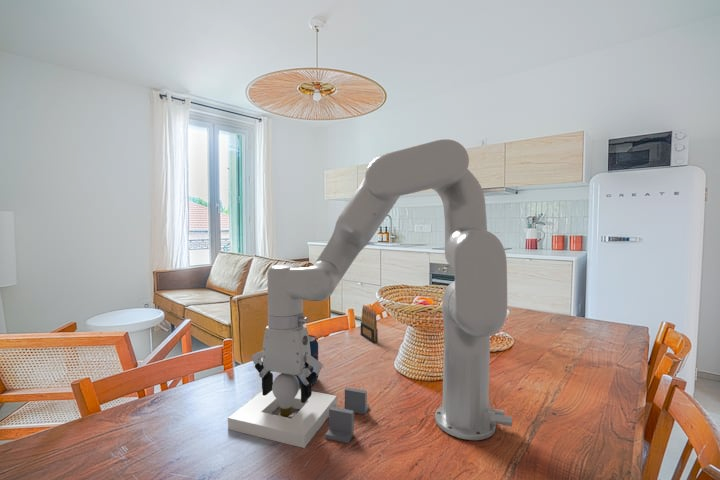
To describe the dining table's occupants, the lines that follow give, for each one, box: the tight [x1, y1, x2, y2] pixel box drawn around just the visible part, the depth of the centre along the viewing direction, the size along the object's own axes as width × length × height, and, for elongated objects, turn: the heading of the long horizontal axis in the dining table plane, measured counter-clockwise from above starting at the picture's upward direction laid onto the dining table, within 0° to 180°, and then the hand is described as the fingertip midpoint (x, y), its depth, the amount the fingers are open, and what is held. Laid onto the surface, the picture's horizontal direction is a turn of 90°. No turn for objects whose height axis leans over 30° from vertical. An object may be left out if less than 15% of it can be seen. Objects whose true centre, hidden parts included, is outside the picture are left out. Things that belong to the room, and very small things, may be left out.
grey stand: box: [324, 387, 370, 444], centre depth 74 cm, size 5×14×5 cm, turn 161°
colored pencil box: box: [360, 304, 379, 344], centre depth 128 cm, size 11×2×12 cm, turn 26°
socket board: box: [227, 388, 338, 449], centre depth 76 cm, size 18×16×2 cm
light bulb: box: [272, 373, 300, 418], centre depth 76 cm, size 6×6×10 cm
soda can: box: [295, 334, 319, 387], centre depth 93 cm, size 7×7×12 cm
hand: (286, 396), depth 76 cm, fingers open, 9 cm apart
